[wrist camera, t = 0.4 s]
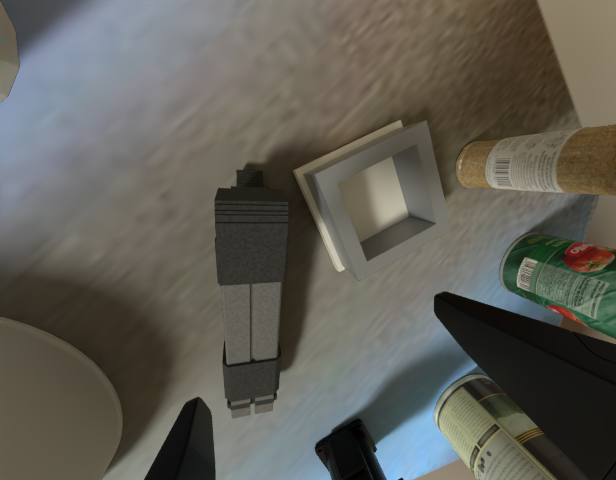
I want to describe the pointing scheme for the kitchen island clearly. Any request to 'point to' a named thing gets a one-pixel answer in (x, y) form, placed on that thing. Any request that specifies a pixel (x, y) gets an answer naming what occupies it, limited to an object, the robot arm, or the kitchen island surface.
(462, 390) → the coffee can
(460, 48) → the kitchen island surface
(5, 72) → the french press
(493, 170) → the sprinkles bottle
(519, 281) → the canned tomato
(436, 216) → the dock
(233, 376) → the gun
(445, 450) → the kitchen island surface
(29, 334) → the kettle
